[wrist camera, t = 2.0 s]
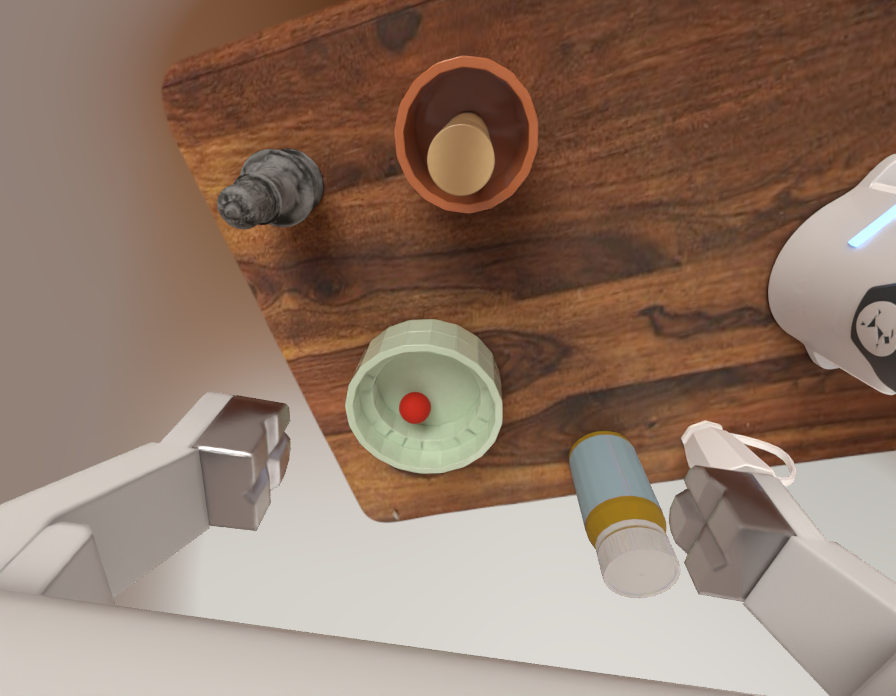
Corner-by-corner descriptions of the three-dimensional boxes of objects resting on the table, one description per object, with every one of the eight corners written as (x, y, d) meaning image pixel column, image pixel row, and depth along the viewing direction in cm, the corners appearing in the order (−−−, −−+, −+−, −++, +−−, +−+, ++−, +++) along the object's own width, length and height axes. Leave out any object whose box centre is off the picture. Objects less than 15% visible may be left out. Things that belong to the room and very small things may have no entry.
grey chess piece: (296, 129, 38) (227, 143, 28) (340, 194, 40) (292, 230, 30) (243, 169, 40) (159, 197, 29) (288, 229, 42) (225, 275, 31)
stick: (486, 109, 36) (494, 121, 20) (487, 151, 37) (495, 194, 22) (447, 112, 36) (424, 126, 20) (449, 154, 38) (429, 198, 22)
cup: (671, 411, 49) (704, 465, 42) (774, 406, 48) (825, 460, 41) (664, 463, 52) (694, 522, 45) (760, 459, 51) (806, 518, 44)
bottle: (567, 428, 51) (600, 546, 37) (635, 425, 50) (691, 544, 37) (566, 477, 54) (596, 602, 41) (630, 475, 53) (680, 600, 40)
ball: (430, 385, 48) (428, 403, 45) (433, 411, 50) (430, 430, 47) (399, 386, 48) (395, 404, 45) (403, 411, 50) (398, 430, 47)
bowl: (498, 312, 45) (501, 342, 39) (500, 433, 51) (503, 472, 46) (349, 318, 46) (333, 347, 41) (370, 436, 53) (358, 474, 47)
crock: (527, 58, 35) (540, 49, 28) (525, 189, 39) (536, 210, 32) (404, 67, 36) (386, 61, 29) (416, 195, 40) (403, 217, 33)
